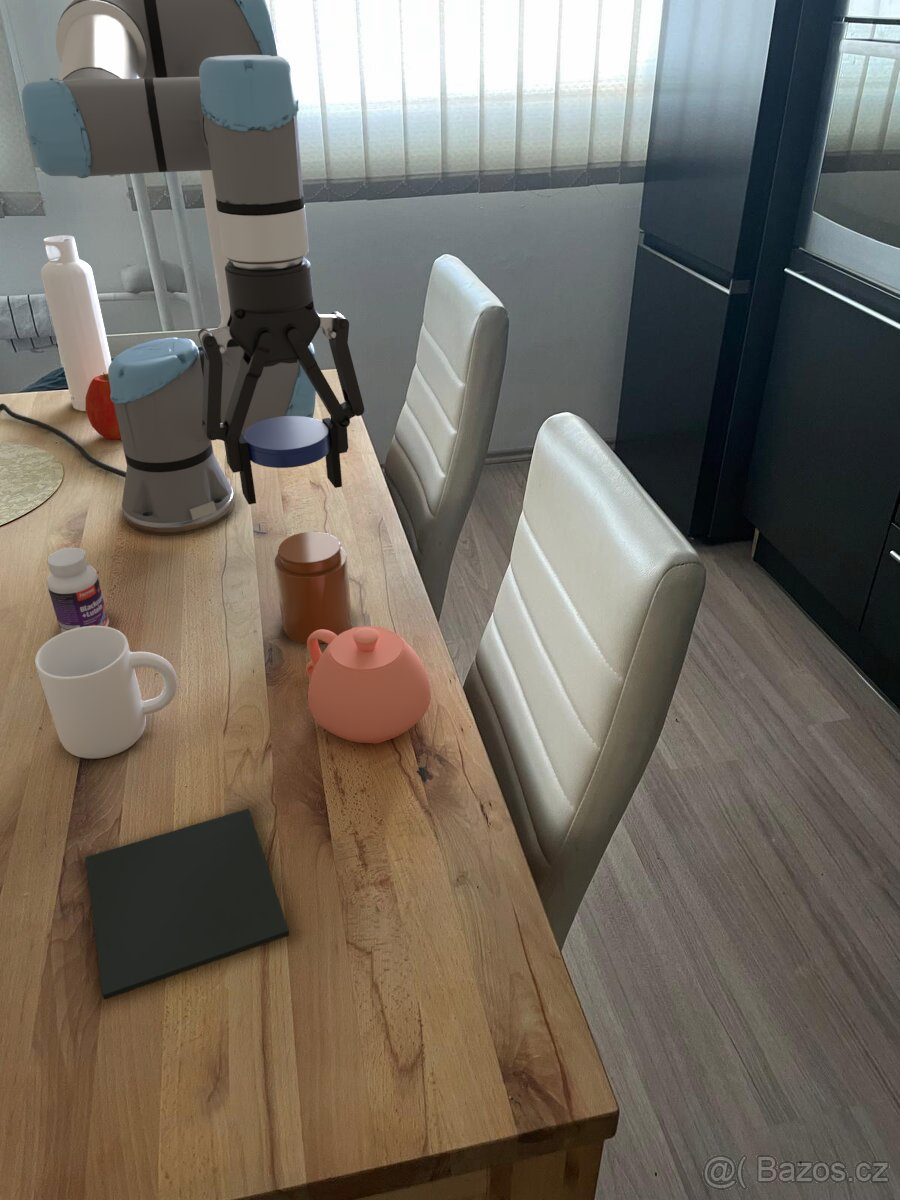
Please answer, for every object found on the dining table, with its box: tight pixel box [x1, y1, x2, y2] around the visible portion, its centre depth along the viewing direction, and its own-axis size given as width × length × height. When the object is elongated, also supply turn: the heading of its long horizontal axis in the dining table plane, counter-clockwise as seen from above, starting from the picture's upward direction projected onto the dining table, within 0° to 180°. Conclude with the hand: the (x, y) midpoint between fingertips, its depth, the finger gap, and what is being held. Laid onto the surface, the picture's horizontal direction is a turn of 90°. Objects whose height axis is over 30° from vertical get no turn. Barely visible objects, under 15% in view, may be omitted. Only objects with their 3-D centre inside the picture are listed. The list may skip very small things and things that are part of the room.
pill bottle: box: [46, 547, 110, 634], centre depth 104 cm, size 5×5×10 cm
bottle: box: [40, 234, 113, 412], centre depth 157 cm, size 8×8×28 cm
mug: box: [34, 626, 179, 760], centre depth 89 cm, size 12×8×10 cm
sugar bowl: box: [305, 625, 432, 744], centre depth 91 cm, size 12×14×10 cm
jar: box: [274, 531, 353, 645], centre depth 104 cm, size 8×8×10 cm
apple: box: [85, 372, 121, 440], centre depth 150 cm, size 8×8×11 cm
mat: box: [85, 808, 290, 1000], centre depth 75 cm, size 14×14×1 cm
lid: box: [244, 416, 330, 469], centre depth 91 cm, size 8×8×2 cm
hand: (292, 489), depth 94 cm, fingers closed on lid, 8 cm apart
